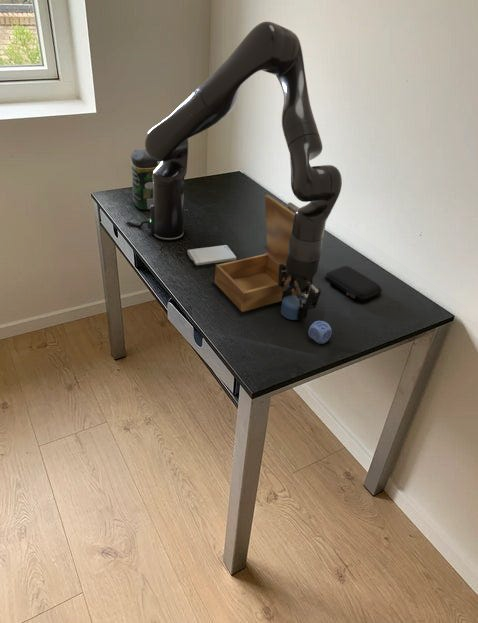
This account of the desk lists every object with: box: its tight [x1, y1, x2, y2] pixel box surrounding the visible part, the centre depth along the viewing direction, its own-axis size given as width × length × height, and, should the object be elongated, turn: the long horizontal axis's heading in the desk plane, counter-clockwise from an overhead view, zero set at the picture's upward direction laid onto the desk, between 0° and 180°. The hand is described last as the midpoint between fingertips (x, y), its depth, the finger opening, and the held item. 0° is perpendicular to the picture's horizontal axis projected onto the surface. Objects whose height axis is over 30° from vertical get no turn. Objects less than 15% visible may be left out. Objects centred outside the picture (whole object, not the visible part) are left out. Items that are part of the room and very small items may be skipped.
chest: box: [214, 253, 297, 313], centre depth 128 cm, size 17×15×6 cm
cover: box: [264, 194, 300, 264], centre depth 124 cm, size 17×15×5 cm
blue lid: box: [280, 294, 306, 321], centre depth 120 cm, size 6×6×4 cm
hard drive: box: [186, 244, 238, 266], centre depth 142 cm, size 2×8×12 cm
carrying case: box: [325, 265, 383, 302], centre depth 134 cm, size 11×3×15 cm
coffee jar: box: [130, 148, 159, 211], centre depth 162 cm, size 10×8×19 cm
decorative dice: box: [307, 320, 333, 345], centre depth 114 cm, size 4×4×4 cm
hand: (293, 311), depth 121 cm, fingers closed on blue lid, 6 cm apart
